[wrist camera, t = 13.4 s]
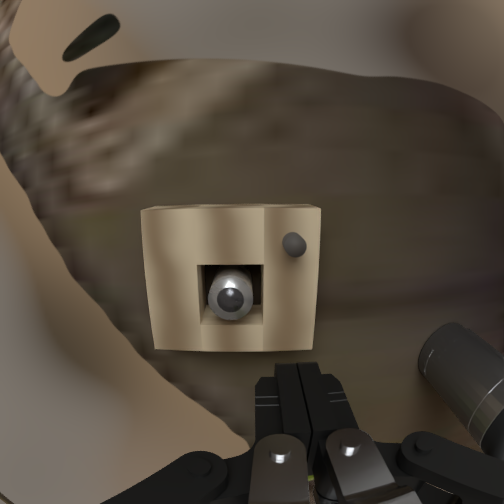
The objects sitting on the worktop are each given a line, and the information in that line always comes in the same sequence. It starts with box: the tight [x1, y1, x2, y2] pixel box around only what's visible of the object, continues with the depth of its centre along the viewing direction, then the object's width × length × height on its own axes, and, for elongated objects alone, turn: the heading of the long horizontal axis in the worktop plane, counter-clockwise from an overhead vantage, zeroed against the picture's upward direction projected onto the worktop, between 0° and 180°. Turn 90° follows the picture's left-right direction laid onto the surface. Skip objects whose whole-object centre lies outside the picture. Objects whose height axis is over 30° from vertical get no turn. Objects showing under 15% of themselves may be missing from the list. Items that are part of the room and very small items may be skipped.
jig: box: [141, 204, 321, 352], centre depth 29 cm, size 16×14×7 cm
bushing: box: [208, 264, 253, 320], centre depth 30 cm, size 4×4×6 cm
